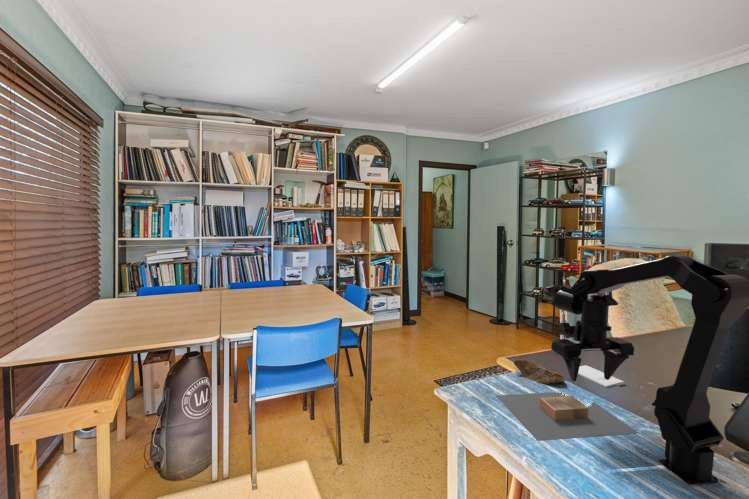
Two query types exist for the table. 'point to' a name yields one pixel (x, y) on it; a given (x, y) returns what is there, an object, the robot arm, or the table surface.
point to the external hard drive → (598, 376)
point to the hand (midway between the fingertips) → (590, 379)
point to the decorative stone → (537, 372)
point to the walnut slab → (563, 408)
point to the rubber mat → (549, 429)
